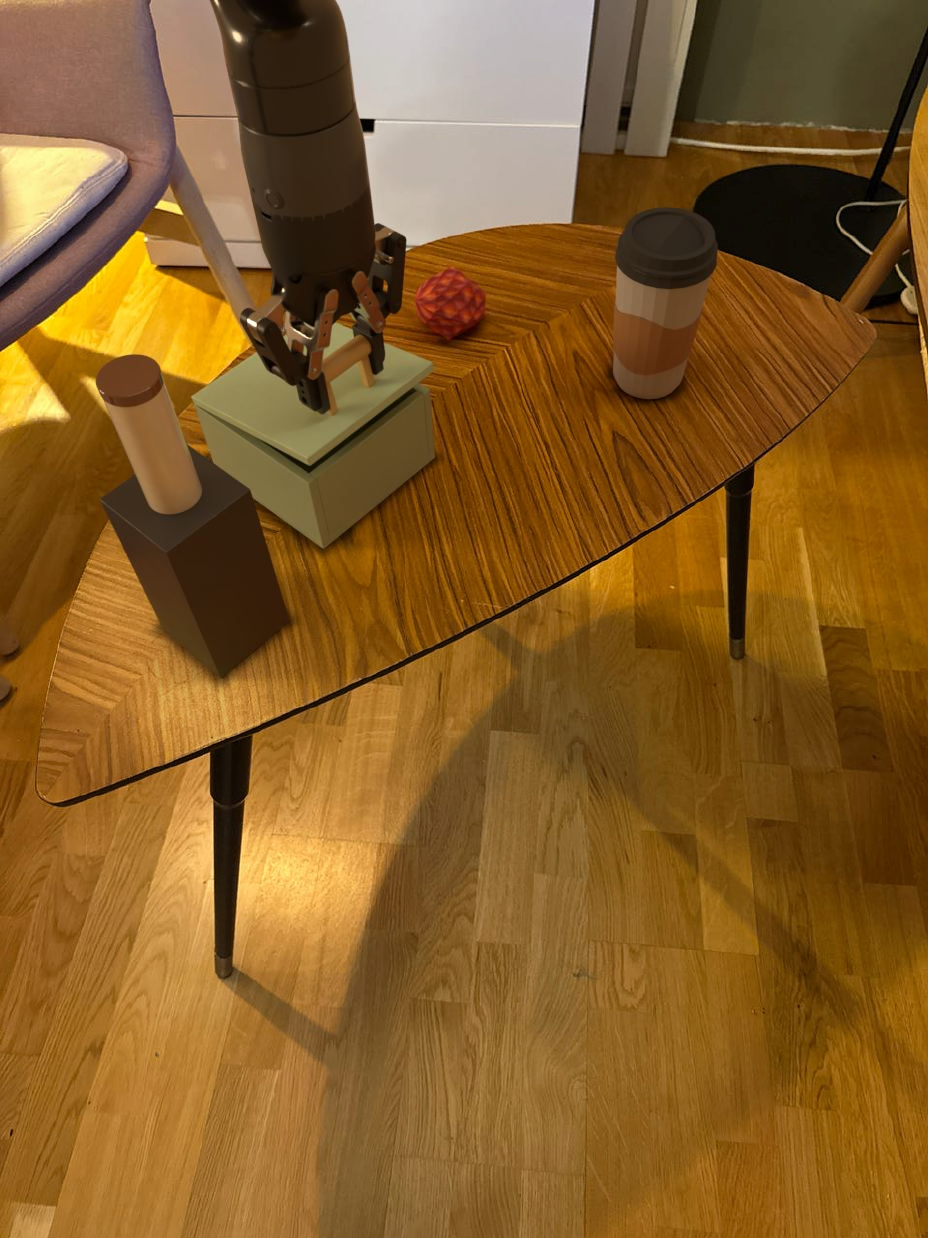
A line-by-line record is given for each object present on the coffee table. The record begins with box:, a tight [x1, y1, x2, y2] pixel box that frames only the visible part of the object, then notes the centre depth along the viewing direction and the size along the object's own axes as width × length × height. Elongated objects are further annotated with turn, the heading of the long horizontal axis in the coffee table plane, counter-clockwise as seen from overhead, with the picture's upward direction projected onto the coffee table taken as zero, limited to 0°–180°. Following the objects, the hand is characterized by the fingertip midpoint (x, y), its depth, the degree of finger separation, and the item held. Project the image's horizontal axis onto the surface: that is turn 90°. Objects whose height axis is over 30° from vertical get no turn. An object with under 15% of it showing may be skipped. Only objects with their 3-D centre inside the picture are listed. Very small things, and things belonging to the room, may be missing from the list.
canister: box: [95, 353, 202, 514], centre depth 60 cm, size 4×4×10 cm
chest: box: [193, 382, 436, 550], centre depth 83 cm, size 14×14×8 cm
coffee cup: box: [612, 206, 719, 400], centre depth 86 cm, size 8×8×15 cm
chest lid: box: [190, 321, 435, 466], centre depth 77 cm, size 14×14×5 cm
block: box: [99, 443, 291, 680], centre depth 71 cm, size 7×7×15 cm
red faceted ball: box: [414, 265, 487, 341], centre depth 95 cm, size 6×7×8 cm
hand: (344, 387), depth 75 cm, fingers closed on chest lid, 5 cm apart
